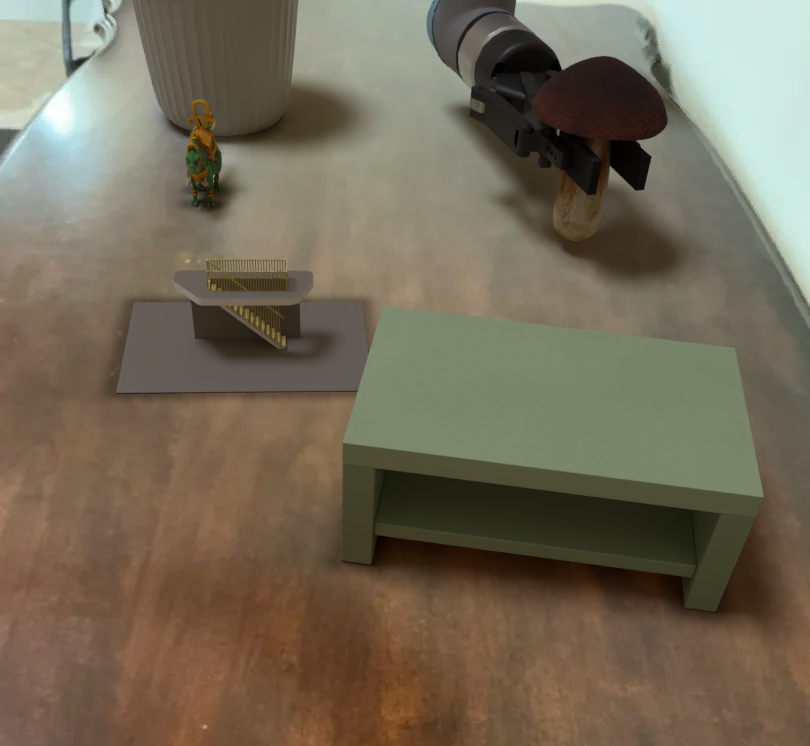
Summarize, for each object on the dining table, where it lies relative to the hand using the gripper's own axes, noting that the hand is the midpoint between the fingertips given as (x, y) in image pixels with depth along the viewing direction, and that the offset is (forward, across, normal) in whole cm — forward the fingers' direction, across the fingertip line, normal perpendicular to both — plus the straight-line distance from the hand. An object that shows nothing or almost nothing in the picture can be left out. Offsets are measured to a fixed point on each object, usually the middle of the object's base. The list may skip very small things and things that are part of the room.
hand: (619, 175), depth 77 cm
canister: (-39, +25, -9) cm, 47 cm away
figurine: (-23, +30, -9) cm, 38 cm away
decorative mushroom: (-5, 0, -8) cm, 10 cm away
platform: (+3, +31, -9) cm, 32 cm away
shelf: (+25, +17, -9) cm, 32 cm away
